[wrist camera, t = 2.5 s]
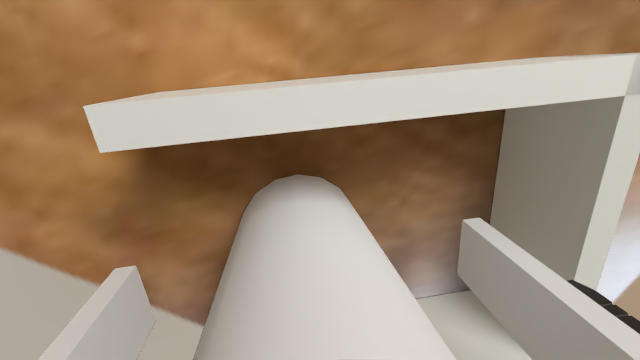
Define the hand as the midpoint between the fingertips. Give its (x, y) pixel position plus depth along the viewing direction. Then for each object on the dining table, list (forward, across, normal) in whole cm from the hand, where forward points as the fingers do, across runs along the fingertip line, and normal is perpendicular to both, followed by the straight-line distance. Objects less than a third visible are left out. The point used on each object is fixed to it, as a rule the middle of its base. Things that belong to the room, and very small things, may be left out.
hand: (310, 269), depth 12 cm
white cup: (+3, 0, 0) cm, 3 cm away
